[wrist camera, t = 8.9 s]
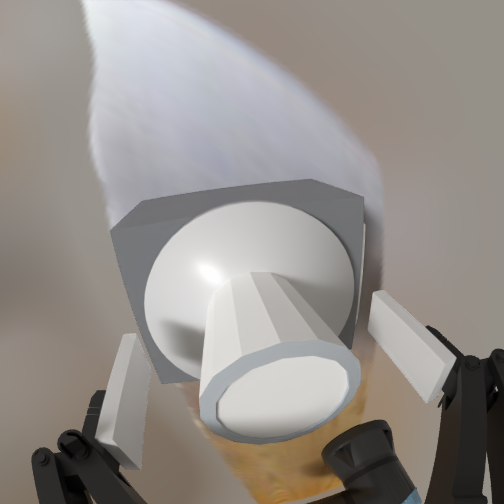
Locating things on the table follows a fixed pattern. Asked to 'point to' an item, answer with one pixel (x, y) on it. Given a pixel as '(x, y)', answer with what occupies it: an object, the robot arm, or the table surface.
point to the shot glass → (271, 363)
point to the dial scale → (237, 259)
